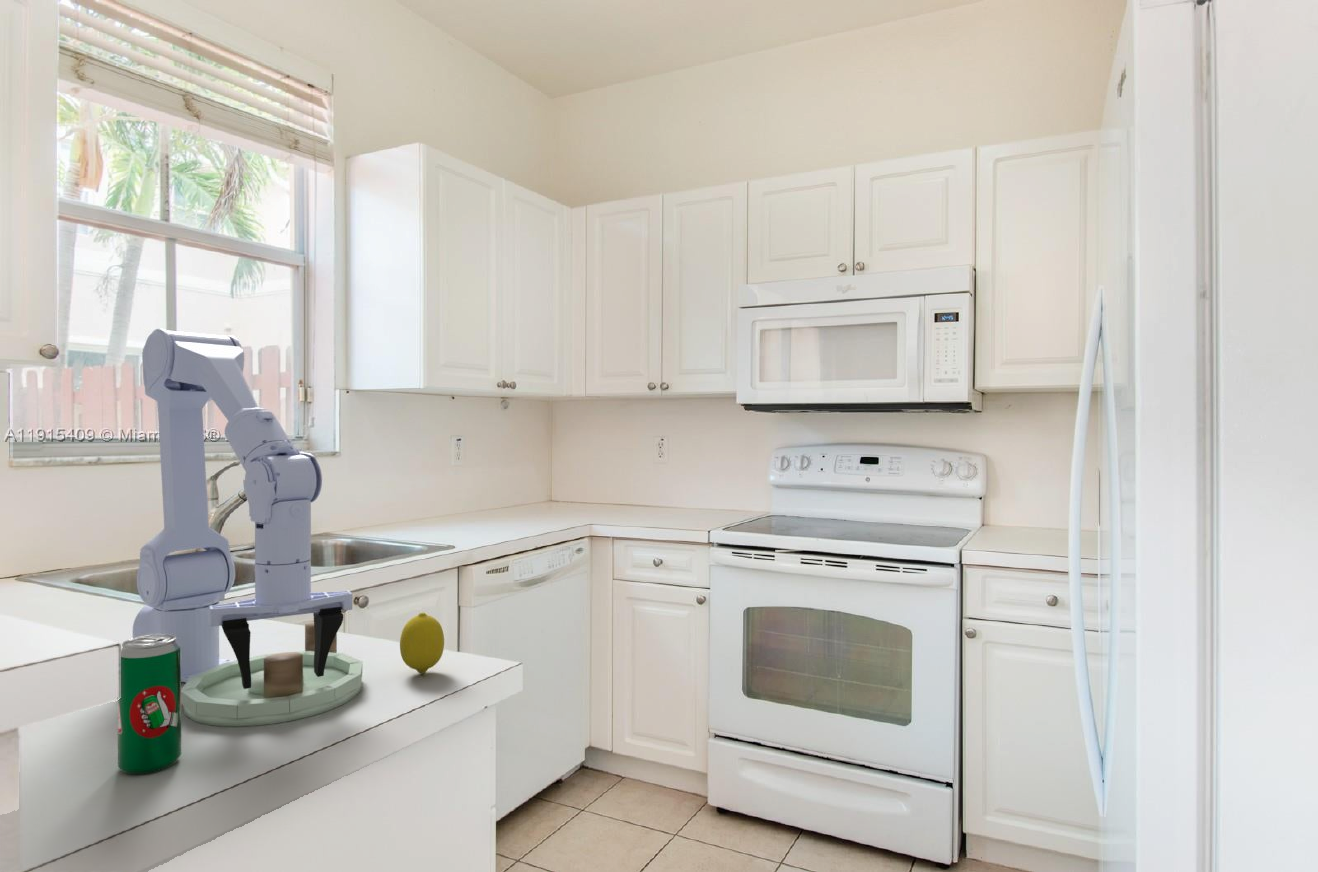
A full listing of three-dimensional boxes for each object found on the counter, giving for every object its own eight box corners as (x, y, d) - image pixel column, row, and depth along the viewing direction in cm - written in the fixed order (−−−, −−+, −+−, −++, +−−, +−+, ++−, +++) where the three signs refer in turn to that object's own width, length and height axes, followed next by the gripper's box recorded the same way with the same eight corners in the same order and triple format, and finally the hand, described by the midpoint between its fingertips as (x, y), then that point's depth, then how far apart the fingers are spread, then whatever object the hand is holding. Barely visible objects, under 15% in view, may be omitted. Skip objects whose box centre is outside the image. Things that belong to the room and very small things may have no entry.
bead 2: (298, 662, 105) (298, 626, 105) (317, 654, 109) (317, 619, 109) (324, 665, 104) (325, 628, 104) (342, 656, 108) (342, 620, 108)
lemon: (431, 682, 98) (431, 619, 97) (391, 679, 99) (391, 616, 99) (451, 668, 103) (451, 608, 103) (413, 665, 104) (413, 606, 104)
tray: (141, 718, 85) (141, 696, 85) (262, 665, 104) (262, 647, 104) (294, 733, 81) (294, 710, 81) (391, 675, 100) (391, 656, 100)
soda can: (137, 754, 76) (137, 633, 76) (191, 752, 76) (191, 632, 76) (105, 777, 71) (104, 648, 71) (163, 776, 71) (162, 647, 71)
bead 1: (268, 696, 89) (268, 653, 89) (305, 693, 90) (306, 651, 90) (259, 708, 85) (259, 663, 85) (298, 705, 86) (298, 661, 86)
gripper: (212, 573, 80) (212, 702, 81) (358, 560, 88) (358, 678, 89) (207, 562, 86) (207, 683, 86) (345, 551, 94) (345, 661, 94)
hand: (283, 679), depth 88 cm, fingers open, 7 cm apart
